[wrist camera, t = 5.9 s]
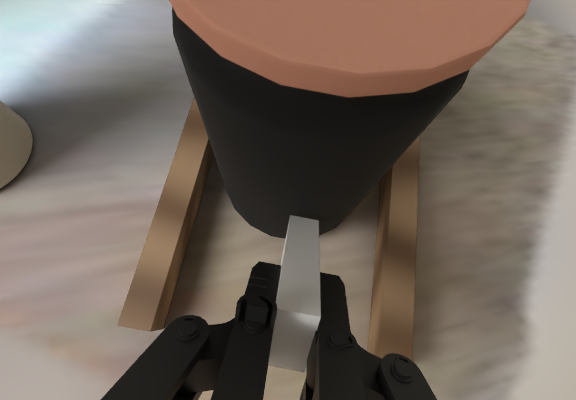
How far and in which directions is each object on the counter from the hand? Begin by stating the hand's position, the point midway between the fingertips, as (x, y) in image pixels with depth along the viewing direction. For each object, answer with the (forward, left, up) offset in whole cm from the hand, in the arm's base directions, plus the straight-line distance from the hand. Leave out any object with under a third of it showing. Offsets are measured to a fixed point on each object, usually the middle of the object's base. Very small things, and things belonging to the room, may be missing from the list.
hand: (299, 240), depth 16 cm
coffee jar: (-6, +1, -7) cm, 10 cm away
